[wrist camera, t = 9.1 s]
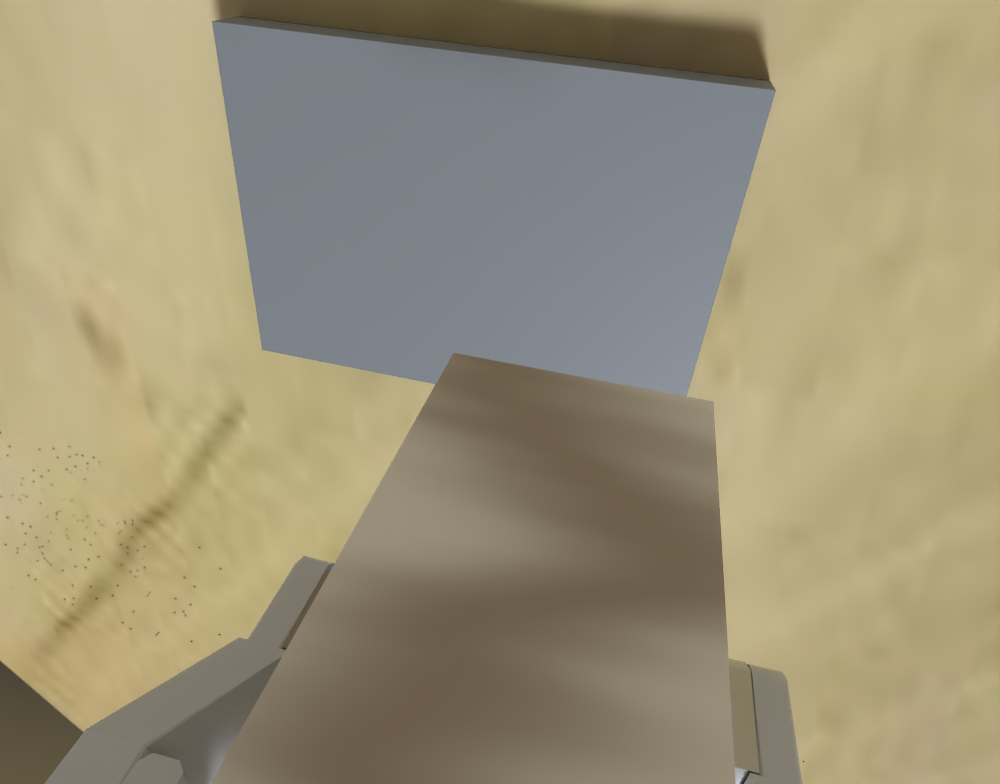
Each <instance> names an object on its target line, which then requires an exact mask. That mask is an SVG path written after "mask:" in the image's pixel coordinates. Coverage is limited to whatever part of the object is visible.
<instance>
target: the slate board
mask: <svg viewBox="0 0 1000 784" xmlns="http://www.w3.org/2000/svg"><path fill="white" fill-rule="evenodd" d="M212 23H213V30H214V36H215V43H216V50H217V56H218V63H219V69H220V76H221V82H222V89H223V95H224V102H225V108H226V115H227V121H228V128H229V135H230V141H231V148H232V154H233V161H234V167H235V174H236V180H237V187H238V193H239V200H240V206H241V213H242V220H243V226H244V233H245V239H246V246H247V252H248V259H249V265H250V272H251V278H252V285H253V291H254V298H255V305H256V311H257V318H258V324H259V331H260V337H261V344H262V350H266V351H271V352H276V353H281V354H286V355H291V356H297V357H302V358H307V359H312V360H317V361H322V362H327V363H332V364H337V365H342V366H347V367H352V368H357V369H362V370H367V371H372V372H377V373H382V374H387V375H392V376H397V377H402V378H408V379H413V380H418V381H423V382H428V383H433V384H436V383H437V381H438V379H439V378H440V376H441V374H442V372H443V371H444V369H445V367H446V365H447V363H448V362H449V360H450V358H451V356H452V355H453V353H457V354H463V355H468V356H473V357H479V358H484V359H489V360H495V361H500V362H505V363H511V364H516V365H521V366H526V367H532V368H537V369H542V370H548V371H553V372H558V373H564V374H569V375H574V376H580V377H585V378H590V379H595V380H601V381H606V382H611V383H617V384H622V385H627V386H633V387H638V388H643V389H649V390H654V391H659V392H665V393H670V394H675V395H680V396H687V393H688V389H689V386H690V382H691V379H692V376H693V372H694V369H695V365H696V362H697V358H698V355H699V352H700V348H701V345H702V341H703V338H704V334H705V331H706V328H707V324H708V321H709V317H710V314H711V310H712V307H713V304H714V300H715V297H716V293H717V290H718V286H719V283H720V280H721V276H722V273H723V269H724V266H725V262H726V259H727V256H728V252H729V249H730V245H731V242H732V238H733V235H734V232H735V228H736V225H737V221H738V218H739V214H740V211H741V208H742V204H743V201H744V197H745V194H746V190H747V187H748V184H749V180H750V177H751V173H752V170H753V166H754V163H755V160H756V156H757V153H758V149H759V146H760V142H761V139H762V136H763V132H764V129H765V125H766V122H767V118H768V115H769V112H770V108H771V105H772V101H773V98H774V94H775V91H776V90H775V88H774V87H773V85H772V83H771V82H770V81H766V80H758V79H749V78H741V77H733V76H725V75H716V74H708V73H700V72H691V71H683V70H675V69H667V68H658V67H650V66H642V65H633V64H625V63H617V62H609V61H600V60H592V59H584V58H575V57H567V56H559V55H551V54H542V53H534V52H526V51H517V50H509V49H501V48H493V47H484V46H476V45H468V44H459V43H451V42H443V41H435V40H426V39H418V38H410V37H401V36H393V35H385V34H377V33H368V32H360V31H352V30H343V29H335V28H327V27H319V26H310V25H302V24H294V23H285V22H277V21H269V20H261V19H252V18H244V17H234V18H229V19H223V20H217V21H212Z"/></svg>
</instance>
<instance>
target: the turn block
mask: <svg viewBox="0 0 1000 784" xmlns="http://www.w3.org/2000/svg"><path fill="white" fill-rule="evenodd" d="M211 784H736V780H735V763H734V746H733V729H732V712H731V695H730V678H729V661H728V644H727V627H726V610H725V593H724V576H723V559H722V542H721V525H720V508H719V491H718V474H717V457H716V440H715V423H714V406H713V402H712V401H707V400H702V399H696V398H691V397H686V396H680V395H675V394H670V393H665V392H659V391H654V390H649V389H643V388H638V387H633V386H627V385H622V384H617V383H611V382H606V381H601V380H595V379H590V378H585V377H580V376H574V375H569V374H564V373H558V372H553V371H548V370H542V369H537V368H532V367H526V366H521V365H516V364H511V363H505V362H500V361H495V360H489V359H484V358H479V357H473V356H468V355H463V354H457V353H453V355H452V356H451V358H450V360H449V362H448V363H447V365H446V367H445V369H444V371H443V372H442V374H441V376H440V378H439V379H438V381H437V383H436V385H435V387H434V388H433V390H432V392H431V394H430V395H429V397H428V399H427V401H426V402H425V404H424V406H423V408H422V410H421V411H420V413H419V415H418V417H417V418H416V420H415V422H414V424H413V426H412V427H411V429H410V431H409V433H408V434H407V436H406V438H405V440H404V442H403V443H402V445H401V447H400V449H399V450H398V452H397V454H396V456H395V457H394V459H393V461H392V463H391V465H390V466H389V468H388V470H387V472H386V473H385V475H384V477H383V479H382V481H381V482H380V484H379V486H378V488H377V489H376V491H375V493H374V495H373V496H372V498H371V500H370V502H369V504H368V505H367V507H366V509H365V511H364V512H363V514H362V516H361V518H360V520H359V521H358V523H357V525H356V527H355V528H354V530H353V532H352V534H351V535H350V537H349V539H348V541H347V543H346V544H345V546H344V548H343V550H342V551H341V553H340V555H339V557H338V559H337V560H336V562H335V564H334V566H333V567H332V569H331V571H330V573H329V574H328V576H327V578H326V580H325V582H324V583H323V585H322V587H321V589H320V590H319V592H318V594H317V596H316V598H315V599H314V601H313V603H312V605H311V606H310V608H309V610H308V612H307V613H306V615H305V617H304V619H303V621H302V622H301V624H300V626H299V628H298V629H297V631H296V633H295V635H294V637H293V638H292V640H291V642H290V644H289V645H288V647H287V649H286V651H285V652H284V654H283V656H282V658H281V660H280V661H279V663H278V665H277V667H276V668H275V670H274V672H273V674H272V676H271V677H270V679H269V681H268V683H267V684H266V686H265V688H264V690H263V691H262V693H261V695H260V697H259V699H258V700H257V702H256V704H255V706H254V707H253V709H252V711H251V713H250V715H249V716H248V718H247V720H246V722H245V723H244V725H243V727H242V729H241V730H240V732H239V734H238V736H237V738H236V739H235V741H234V743H233V745H232V746H231V748H230V750H229V752H228V754H227V755H226V757H225V759H224V761H223V762H222V764H221V766H220V768H219V769H218V771H217V773H216V775H215V777H214V778H213V780H212V782H211Z"/></svg>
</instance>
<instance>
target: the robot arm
mask: <svg viewBox="0 0 1000 784" xmlns="http://www.w3.org/2000/svg"><path fill="white" fill-rule="evenodd" d="M333 566H334V563H330V562H326V561H322V560H318V559H314V558H310V557H306V556H304V557H303V558H301V559H300V560H299V561H298V562H297V563H296V564H295V565H294V567H293V568H292V570H291V572H290V573H289V575H288V576H287V578H286V579H285V581H284V583H283V584H282V586H281V587H280V589H279V591H278V592H277V594H276V595H275V597H274V598H273V600H272V602H271V603H270V605H269V606H268V608H267V610H266V611H265V613H264V614H263V616H262V618H261V619H260V621H259V622H258V624H257V625H256V627H255V629H254V630H253V632H252V633H251V635H250V637H249V638H248V639H244V638H237V639H236V640H234V641H232V642H231V643H229V644H227V645H226V646H224V647H222V648H221V649H219V650H217V651H216V652H214V653H212V654H211V655H209V656H207V657H206V658H204V659H202V660H201V661H199V662H197V663H196V664H194V665H192V666H191V667H189V668H187V669H186V670H184V671H182V672H181V673H179V674H177V675H176V676H174V677H172V678H171V679H169V680H167V681H166V682H164V683H162V684H161V685H159V686H157V687H156V688H154V689H152V690H151V691H149V692H147V693H146V694H144V695H142V696H141V697H139V698H137V699H136V700H134V701H132V702H131V703H129V704H127V705H126V706H124V707H122V708H121V709H119V710H117V711H116V712H114V713H112V714H111V715H109V716H107V717H106V718H104V719H103V720H101V721H99V722H98V723H96V724H94V725H93V726H91V727H89V728H88V729H86V730H85V732H84V733H83V735H82V736H81V737H80V738H79V739H78V741H77V742H76V743H75V745H74V746H73V747H72V749H71V750H70V751H69V753H68V754H67V755H66V757H65V758H64V759H63V760H62V762H61V763H60V764H59V766H58V767H57V768H56V770H55V771H54V772H53V773H52V775H51V776H50V777H49V779H48V780H47V781H46V783H45V784H211V782H212V780H213V778H214V777H215V775H216V773H217V771H218V769H219V768H220V766H221V764H222V762H223V761H224V759H225V757H226V755H227V754H228V752H229V750H230V748H231V746H232V745H233V743H234V741H235V739H236V738H237V736H238V734H239V732H240V730H241V729H242V727H243V725H244V723H245V722H246V720H247V718H248V716H249V715H250V713H251V711H252V709H253V707H254V706H255V704H256V702H257V700H258V699H259V697H260V695H261V693H262V691H263V690H264V688H265V686H266V684H267V683H268V681H269V679H270V677H271V676H272V674H273V672H274V670H275V668H276V667H277V665H278V663H279V661H280V660H281V658H282V656H283V654H284V652H285V651H286V649H287V647H288V645H289V644H290V642H291V640H292V638H293V637H294V635H295V633H296V631H297V629H298V628H299V626H300V624H301V622H302V621H303V619H304V617H305V615H306V613H307V612H308V610H309V608H310V606H311V605H312V603H313V601H314V599H315V598H316V596H317V594H318V592H319V590H320V589H321V587H322V585H323V583H324V582H325V580H326V578H327V576H328V574H329V573H330V571H331V569H332V567H333ZM728 661H729V678H730V695H731V712H732V729H733V746H734V763H735V780H736V784H802V780H801V773H800V766H799V759H798V752H797V745H796V738H795V731H794V724H793V717H792V710H791V703H790V696H789V689H788V682H787V679H786V677H785V675H784V674H783V673H782V672H780V671H776V670H771V669H767V668H762V667H758V666H754V665H749V664H746V663H745V662H741V661H737V660H732V659H728Z"/></svg>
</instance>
